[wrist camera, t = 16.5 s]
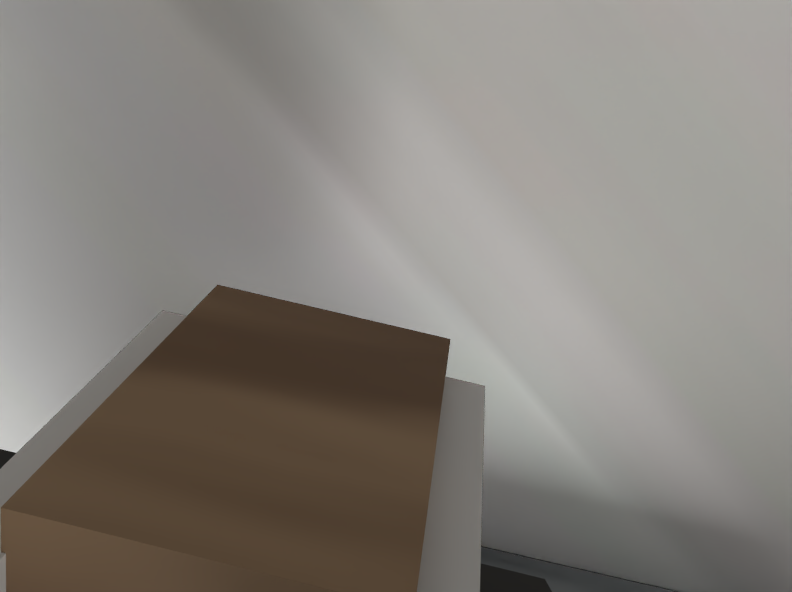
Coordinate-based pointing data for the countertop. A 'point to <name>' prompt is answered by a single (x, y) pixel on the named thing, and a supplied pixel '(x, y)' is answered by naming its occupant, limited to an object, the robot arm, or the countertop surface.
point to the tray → (563, 574)
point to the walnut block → (243, 462)
